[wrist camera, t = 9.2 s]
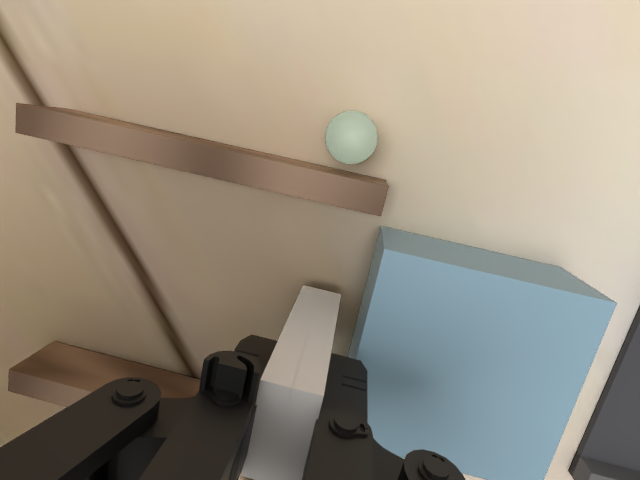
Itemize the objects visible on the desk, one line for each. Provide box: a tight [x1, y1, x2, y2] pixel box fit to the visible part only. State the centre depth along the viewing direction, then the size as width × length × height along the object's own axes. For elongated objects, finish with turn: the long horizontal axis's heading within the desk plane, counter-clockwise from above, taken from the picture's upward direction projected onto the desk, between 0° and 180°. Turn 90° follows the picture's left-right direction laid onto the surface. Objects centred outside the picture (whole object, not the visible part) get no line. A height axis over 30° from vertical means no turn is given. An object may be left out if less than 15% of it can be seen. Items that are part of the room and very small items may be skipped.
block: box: [348, 226, 617, 480], centre depth 15 cm, size 7×7×4 cm
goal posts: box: [325, 111, 378, 164], centre depth 14 cm, size 14×2×3 cm, turn 78°
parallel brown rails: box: [8, 103, 388, 407], centre depth 17 cm, size 13×12×2 cm
